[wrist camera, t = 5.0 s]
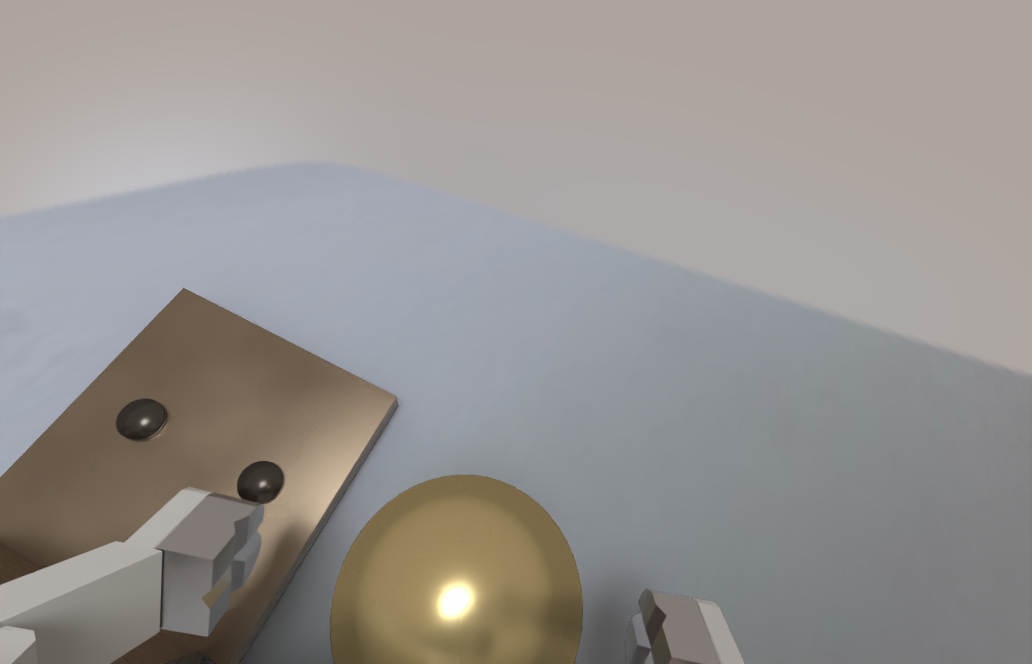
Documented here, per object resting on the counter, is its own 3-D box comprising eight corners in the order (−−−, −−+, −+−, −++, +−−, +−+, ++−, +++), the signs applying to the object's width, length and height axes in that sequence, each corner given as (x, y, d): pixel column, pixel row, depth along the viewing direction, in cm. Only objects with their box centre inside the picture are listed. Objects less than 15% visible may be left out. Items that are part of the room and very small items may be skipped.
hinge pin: (518, 554, 15) (615, 538, 7) (468, 673, 14) (521, 819, 6) (422, 504, 16) (415, 435, 8) (362, 616, 14) (273, 681, 6)
